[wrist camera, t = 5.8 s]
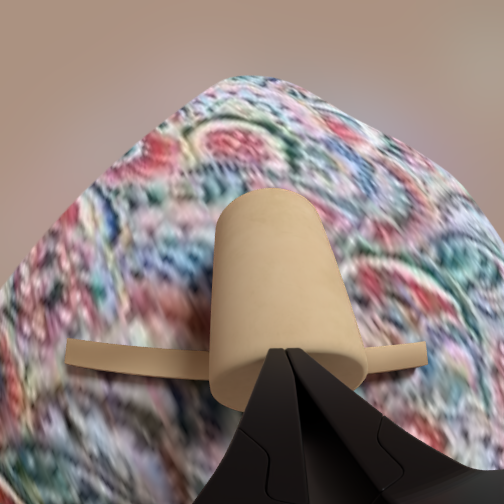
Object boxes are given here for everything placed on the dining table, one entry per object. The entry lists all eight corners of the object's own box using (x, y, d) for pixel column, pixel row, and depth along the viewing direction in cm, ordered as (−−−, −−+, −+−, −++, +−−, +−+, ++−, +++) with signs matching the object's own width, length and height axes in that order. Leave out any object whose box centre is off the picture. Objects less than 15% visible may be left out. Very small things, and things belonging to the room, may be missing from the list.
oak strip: (417, 367, 16) (427, 364, 15) (73, 366, 14) (64, 363, 13) (414, 345, 17) (425, 341, 16) (76, 342, 15) (67, 337, 14)
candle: (174, 377, 9) (197, 200, 16) (252, 424, 12) (243, 267, 20) (356, 325, 7) (294, 157, 15) (377, 391, 11) (327, 235, 18)
